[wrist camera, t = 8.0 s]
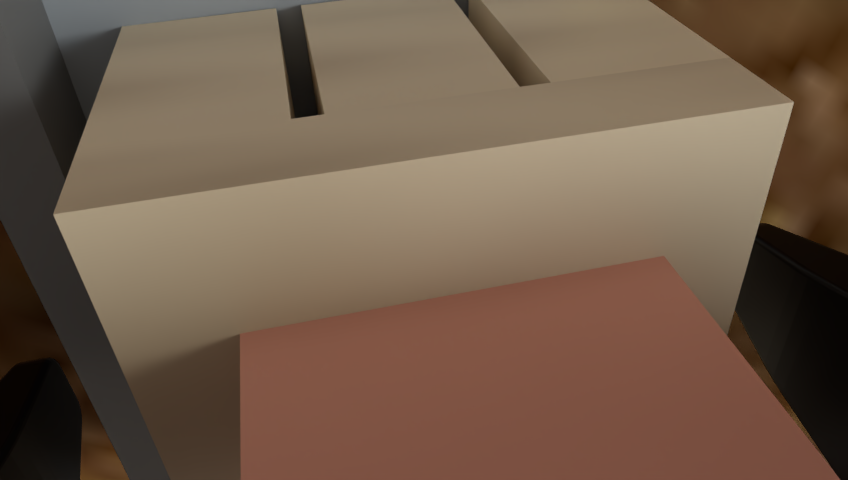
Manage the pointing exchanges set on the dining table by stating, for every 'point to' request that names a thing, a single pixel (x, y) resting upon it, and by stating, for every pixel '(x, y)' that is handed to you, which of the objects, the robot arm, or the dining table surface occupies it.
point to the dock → (54, 152)
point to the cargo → (518, 389)
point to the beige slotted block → (395, 177)
